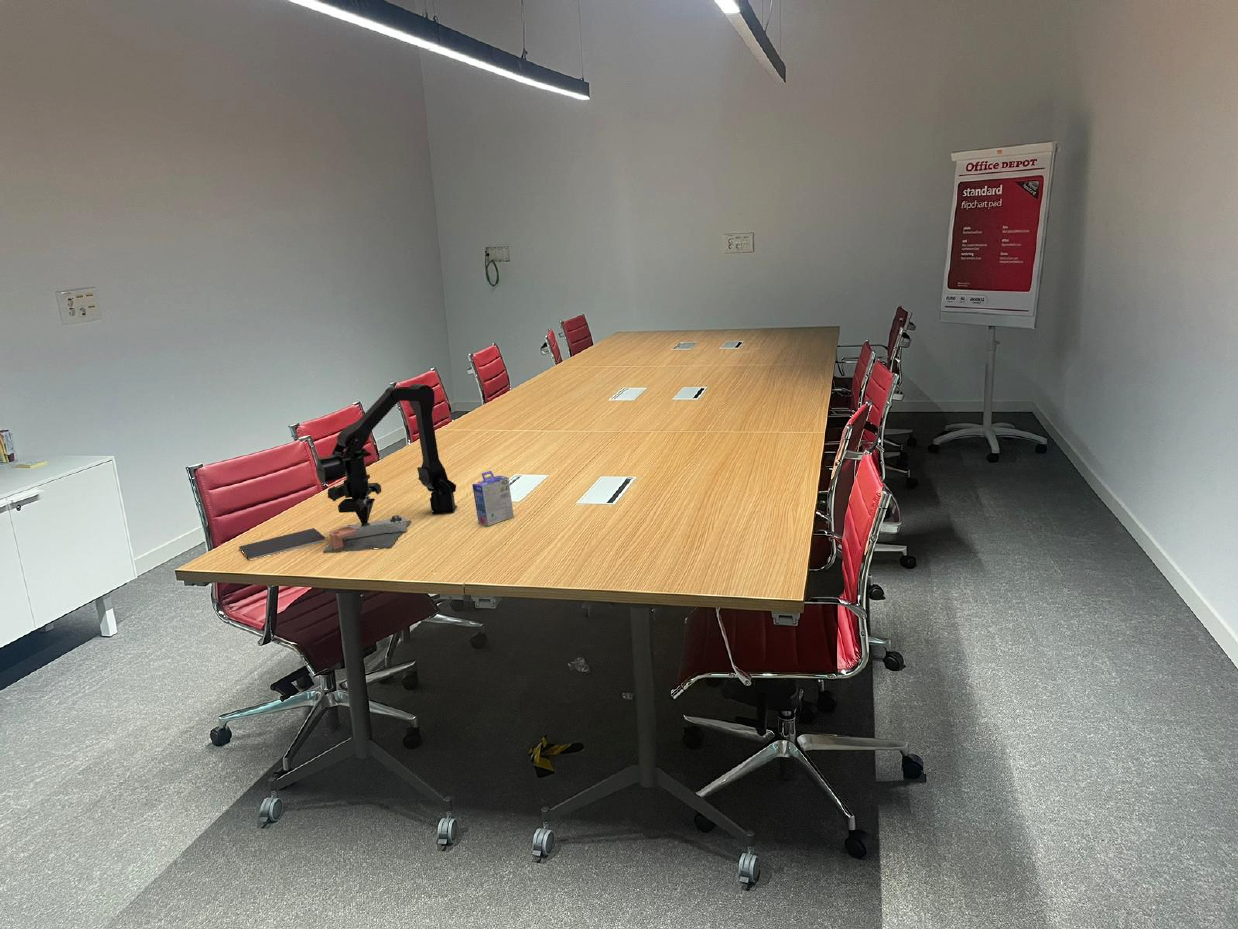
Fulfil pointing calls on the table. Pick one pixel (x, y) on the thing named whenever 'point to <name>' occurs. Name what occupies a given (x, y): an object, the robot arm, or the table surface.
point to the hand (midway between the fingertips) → (364, 525)
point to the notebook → (282, 543)
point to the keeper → (340, 536)
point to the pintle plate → (370, 540)
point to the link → (377, 528)
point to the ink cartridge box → (493, 499)
